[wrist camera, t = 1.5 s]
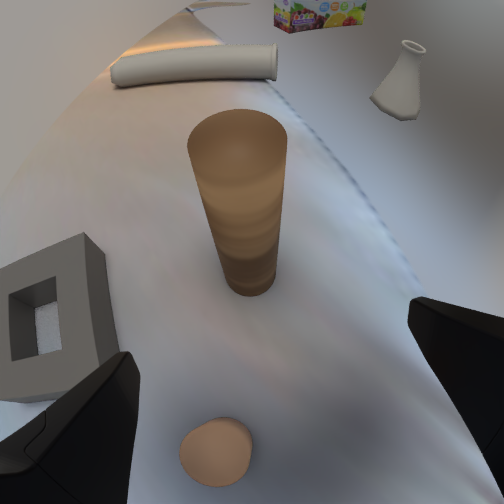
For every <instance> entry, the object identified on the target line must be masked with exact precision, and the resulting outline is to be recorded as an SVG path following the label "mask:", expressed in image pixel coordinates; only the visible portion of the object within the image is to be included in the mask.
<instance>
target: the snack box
mask: <svg viewBox="0 0 504 504" xmlns="http://www.w3.org/2000/svg"><path fill="white" fill-rule="evenodd" d="M366 3H367V0H274V26H275V27H277V28H280V29H281V30H283V31H285V32H287V33H289V34H290V33H295V32H300V31H306V30H314V29H321V28H329V27H339V26H351V25H362V24H363V19H364V14H365V8H366Z"/></svg>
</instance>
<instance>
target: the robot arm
mask: <svg viewBox="0 0 504 504" xmlns="http://www.w3.org/2000/svg"><path fill="white" fill-rule="evenodd" d="M408 327H409V329H410V331H411V333H412V334H413V336H414V338H415V340H416V342H417V344H418V346H419V348H420V350H421V351H422V353H423V355H424V357H425V359H426V361H427V362H428V364H429V366H430V367H431V369H432V370H433V372H434V373H435V375H436V376H437V378H438V380H439V381H440V383H441V384H442V386H443V387H444V389H445V391H446V392H447V394H448V395H449V397H450V399H451V400H452V402H453V404H454V405H455V407H456V409H457V410H458V412H459V414H460V415H461V417H462V419H463V420H464V422H465V424H466V426H467V427H468V429H469V431H470V433H471V434H472V436H473V438H474V440H475V442H476V443H477V445H478V447H479V449H480V451H481V453H482V454H483V457H484V459H485V461H486V463H487V464H488V466H489V468H490V470H491V472H492V474H493V476H494V478H495V481H496V483H497V485H498V487H499V489H500V491H501V493H502V495H503V497H504V318H502V317H498V316H495V315H491V314H487V313H483V312H479V311H476V310H471V309H468V308H464V307H460V306H456V305H453V304H449V303H445V302H441V301H437V300H434V299H430V298H426V297H417V298H414V299H412V300H411V301H410V304H409V313H408ZM139 391H140V372H139V370H138V368H137V365H136V363H135V361H134V358H133V356H132V354H131V353H130V352H128V351H126V352H117V353H116V354H114V355H113V356H112V357H111V358H109V359H108V360H107V361H106V362H104V363H103V364H102V365H101V366H99V367H98V368H97V369H96V370H94V371H93V372H92V373H91V374H89V375H88V376H87V377H85V378H84V379H83V380H82V381H80V382H79V383H78V384H77V385H75V386H74V387H73V388H72V389H70V390H69V391H68V392H67V393H65V394H64V395H63V396H62V397H60V398H59V399H58V400H57V401H55V402H54V403H53V404H52V405H50V406H49V407H48V408H47V409H46V411H45V410H44V411H43V412H41V413H40V414H39V415H38V416H36V417H35V418H34V419H33V420H31V421H30V422H29V423H27V424H26V425H25V426H23V427H22V428H20V429H19V430H17V431H16V432H14V433H13V434H11V435H10V436H8V437H7V438H5V439H4V440H2V441H1V442H0V504H127V497H128V488H129V479H130V470H131V462H132V455H133V448H134V441H135V434H136V428H137V421H138V410H139Z"/></svg>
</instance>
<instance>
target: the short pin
mask: <svg viewBox="0 0 504 504" xmlns="http://www.w3.org/2000/svg"><path fill="white" fill-rule="evenodd" d="M251 451H252V437H251V434H250V432H249V430H248V429H247V428H246V427H245V426H244V425H243V424H242V423H241V422H239V421H237V420H235V419H232V418H227V417H220V418H215V419H212V420H210V421H208V422H206V423H205V424H203V425H201V426H199V427H198V428H196V429H194V430H192V431H191V432H190V433H188V434H187V435H186V437H185V438H184V439H183V441H182V443H181V446H180V451H179V456H180V461H181V464H182V466H183V468H184V470H185V471H186V473H187V474H188V475H189V476H190V477H191V478H193V479H194V480H195V481H197V482H199V483H201V484H204V485H207V486H212V487H223V486H227V485H231V484H233V483H235V482H237V481H238V480H239V479H241V478H242V477H243V476H244V474H245V473H246V471H247V469H248V466H249V462H250V457H251Z"/></svg>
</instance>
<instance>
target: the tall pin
mask: <svg viewBox="0 0 504 504" xmlns="http://www.w3.org/2000/svg"><path fill="white" fill-rule="evenodd" d="M187 148H188V153H189V157H190V160H191V164H192V167H193V171H194V174H195V178H196V181H197V185H198V188H199V192H200V195H201V199H202V202H203V206H204V209H205V212H206V216H207V219H208V223H209V226H210V229H211V233H212V236H213V239H214V242H215V246H216V249H217V252H218V255H219V259H220V262H221V265H222V268H223V272H224V275H225V278H226V281H227V283H228V285H229V286H230V288H231V289H232V290H233V291H235V292H236V293H238V294H240V295H243V296H257V295H260V294H262V293H264V292H265V291H267V290H268V289H269V288H270V287H271V285H272V284H273V282H274V279H275V274H276V264H277V254H278V244H279V233H280V223H281V212H282V200H283V189H284V177H285V165H286V152H287V134H286V131H285V129H284V127H283V126H282V125H281V124H280V123H279V122H278V121H277V120H276V119H274V118H273V117H271V116H270V115H267V114H265V113H262V112H259V111H255V110H248V109H234V110H228V111H223V112H220V113H217V114H214V115H212V116H210V117H208V118H206V119H205V120H203V121H202V122H200V123H199V124H198V125H197V126H196V127H195V128H194V129H193V131H192V132H191V134H190V136H189V139H188V143H187Z"/></svg>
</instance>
